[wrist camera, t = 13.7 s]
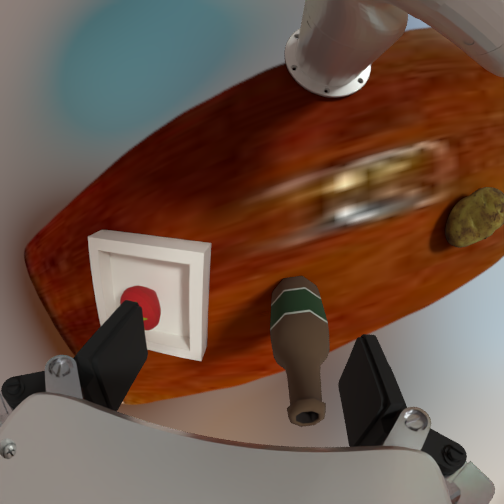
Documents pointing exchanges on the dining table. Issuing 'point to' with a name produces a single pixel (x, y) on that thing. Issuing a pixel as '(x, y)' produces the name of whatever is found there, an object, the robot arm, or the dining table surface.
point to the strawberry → (144, 304)
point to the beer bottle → (300, 346)
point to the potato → (475, 217)
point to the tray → (156, 285)
